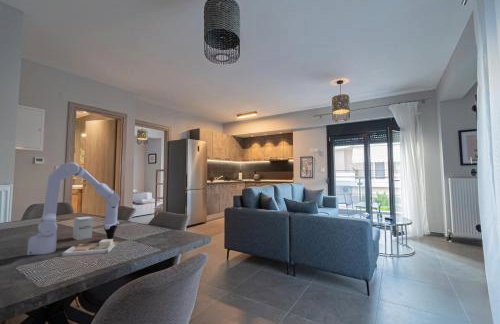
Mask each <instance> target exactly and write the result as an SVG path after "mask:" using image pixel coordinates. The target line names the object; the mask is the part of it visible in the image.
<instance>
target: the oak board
mask: <svg viewBox="0 0 500 324" xmlns="http://www.w3.org/2000/svg"><path fill="white" fill-rule="evenodd" d="M118 243H119V241H113V243H112V244H114V247H116V245H117V244H118ZM85 246H90V249H96V248H108V247H109V246H110V245H109V246H99V242H89V243H80V244H77V245H76V246H75V249H76V248H77V247H85Z"/></svg>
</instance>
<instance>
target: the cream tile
mask: <svg viewBox="0 0 500 324" xmlns="http://www.w3.org/2000/svg"><path fill="white" fill-rule="evenodd" d="M113 242H114V238H113V239H107V238H106V239H101V240H100V241H99V242H98V243H99V246H109V245H111V244H112V243H113Z"/></svg>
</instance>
